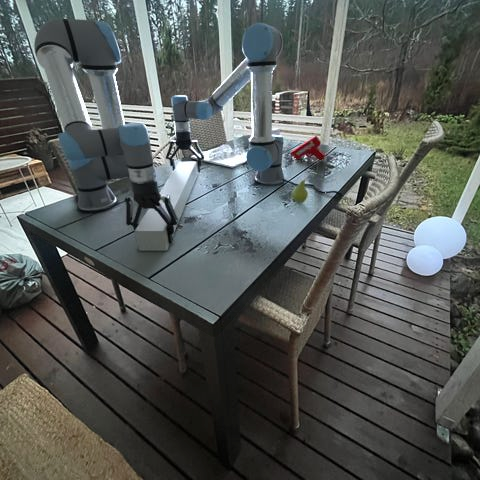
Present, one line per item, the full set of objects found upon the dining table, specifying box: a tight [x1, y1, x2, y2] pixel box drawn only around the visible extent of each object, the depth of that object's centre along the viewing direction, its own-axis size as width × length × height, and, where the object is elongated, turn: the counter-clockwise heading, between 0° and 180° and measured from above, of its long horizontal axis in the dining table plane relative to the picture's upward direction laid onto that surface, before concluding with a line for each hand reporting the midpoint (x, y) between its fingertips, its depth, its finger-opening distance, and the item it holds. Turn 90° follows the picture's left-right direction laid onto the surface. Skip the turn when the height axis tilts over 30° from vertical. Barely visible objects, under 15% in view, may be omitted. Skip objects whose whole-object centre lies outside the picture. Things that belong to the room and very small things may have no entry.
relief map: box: [190, 143, 248, 169], centre depth 179 cm, size 27×35×5 cm
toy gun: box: [290, 135, 326, 163], centre depth 173 cm, size 18×4×15 cm
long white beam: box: [134, 161, 198, 252], centre depth 119 cm, size 74×9×8 cm, turn 0°
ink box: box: [272, 127, 281, 136], centre depth 204 cm, size 8×5×12 cm, turn 134°
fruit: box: [291, 174, 311, 204], centre depth 118 cm, size 7×8×12 cm
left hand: (156, 241), depth 94 cm, fingers closed on long white beam, 9 cm apart
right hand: (186, 171), depth 147 cm, fingers open, 13 cm apart
